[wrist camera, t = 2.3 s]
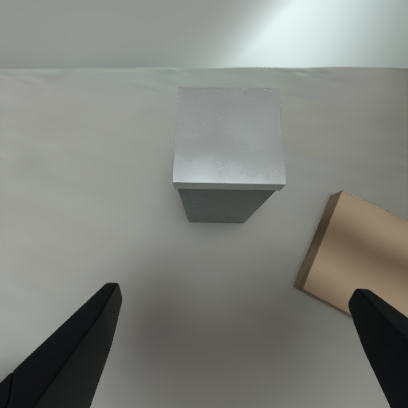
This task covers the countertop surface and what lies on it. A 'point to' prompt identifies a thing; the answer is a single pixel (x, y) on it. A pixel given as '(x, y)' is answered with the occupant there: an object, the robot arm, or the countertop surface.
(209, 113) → the tall grey square pillar
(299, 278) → the block
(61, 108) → the countertop surface
